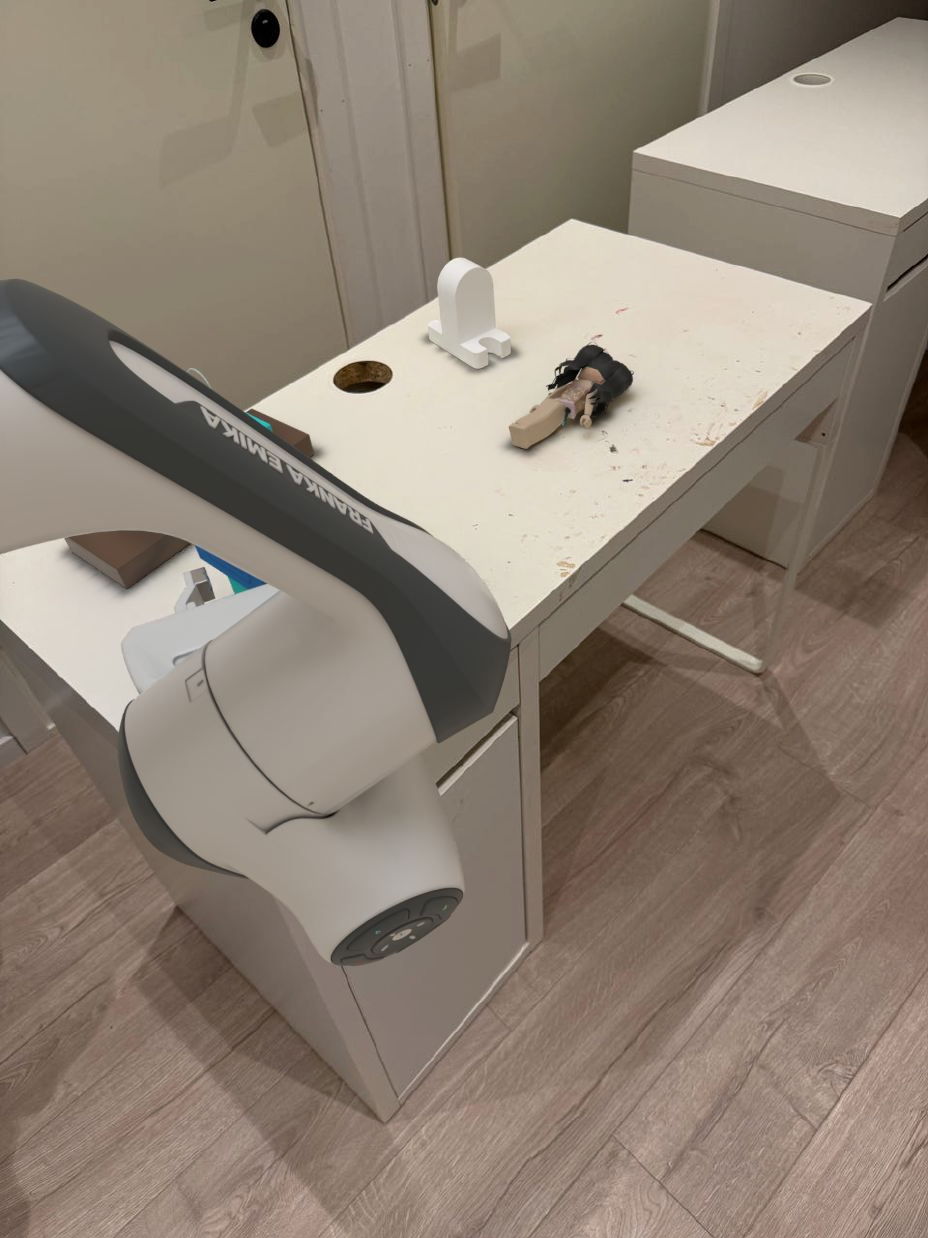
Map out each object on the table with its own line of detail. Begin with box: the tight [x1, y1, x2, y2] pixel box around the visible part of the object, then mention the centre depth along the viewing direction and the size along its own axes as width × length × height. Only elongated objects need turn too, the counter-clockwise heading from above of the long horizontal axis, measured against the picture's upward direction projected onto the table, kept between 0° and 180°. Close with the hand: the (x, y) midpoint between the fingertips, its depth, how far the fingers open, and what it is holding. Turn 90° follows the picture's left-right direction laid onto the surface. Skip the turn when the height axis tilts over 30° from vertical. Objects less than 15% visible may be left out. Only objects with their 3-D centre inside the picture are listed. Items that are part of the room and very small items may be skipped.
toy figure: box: [508, 341, 635, 450], centre depth 91 cm, size 7×6×15 cm
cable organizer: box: [427, 257, 512, 370], centre depth 101 cm, size 5×10×10 cm, turn 37°
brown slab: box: [63, 408, 315, 590], centre depth 87 cm, size 24×9×2 cm, turn 141°
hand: (263, 555), depth 61 cm, fingers open, 8 cm apart
